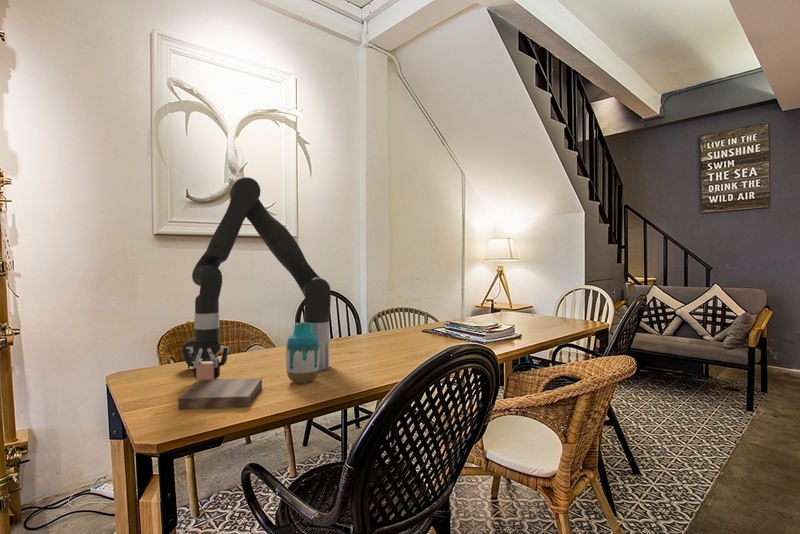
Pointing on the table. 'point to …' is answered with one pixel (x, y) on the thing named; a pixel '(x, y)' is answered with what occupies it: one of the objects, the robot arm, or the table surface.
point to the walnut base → (220, 394)
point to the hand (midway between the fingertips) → (207, 378)
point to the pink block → (204, 371)
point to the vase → (302, 354)
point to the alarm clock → (190, 344)
